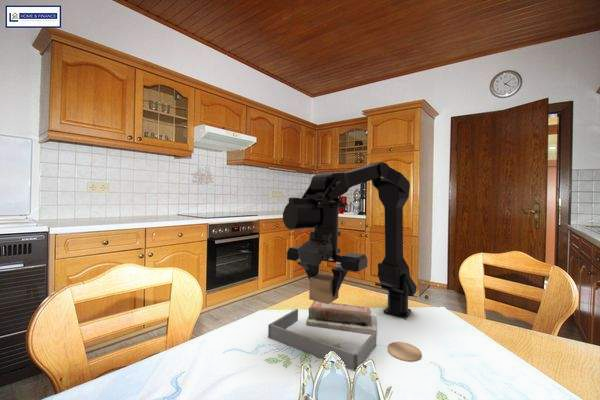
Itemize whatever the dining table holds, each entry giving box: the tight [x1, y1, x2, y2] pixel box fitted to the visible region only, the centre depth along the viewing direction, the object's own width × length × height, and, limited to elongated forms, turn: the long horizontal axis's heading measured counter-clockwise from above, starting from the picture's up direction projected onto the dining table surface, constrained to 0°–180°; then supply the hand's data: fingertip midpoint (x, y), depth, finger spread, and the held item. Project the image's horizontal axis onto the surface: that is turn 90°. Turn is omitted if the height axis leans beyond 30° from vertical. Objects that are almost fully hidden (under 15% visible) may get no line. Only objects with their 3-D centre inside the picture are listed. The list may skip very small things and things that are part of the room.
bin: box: [267, 308, 378, 372], centre depth 65 cm, size 12×22×3 cm, turn 56°
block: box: [308, 272, 340, 304], centre depth 66 cm, size 5×5×5 cm
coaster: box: [387, 341, 423, 362], centre depth 61 cm, size 7×7×1 cm
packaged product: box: [305, 300, 378, 336], centre depth 76 cm, size 18×5×10 cm
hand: (324, 293), depth 66 cm, fingers closed on block, 5 cm apart
